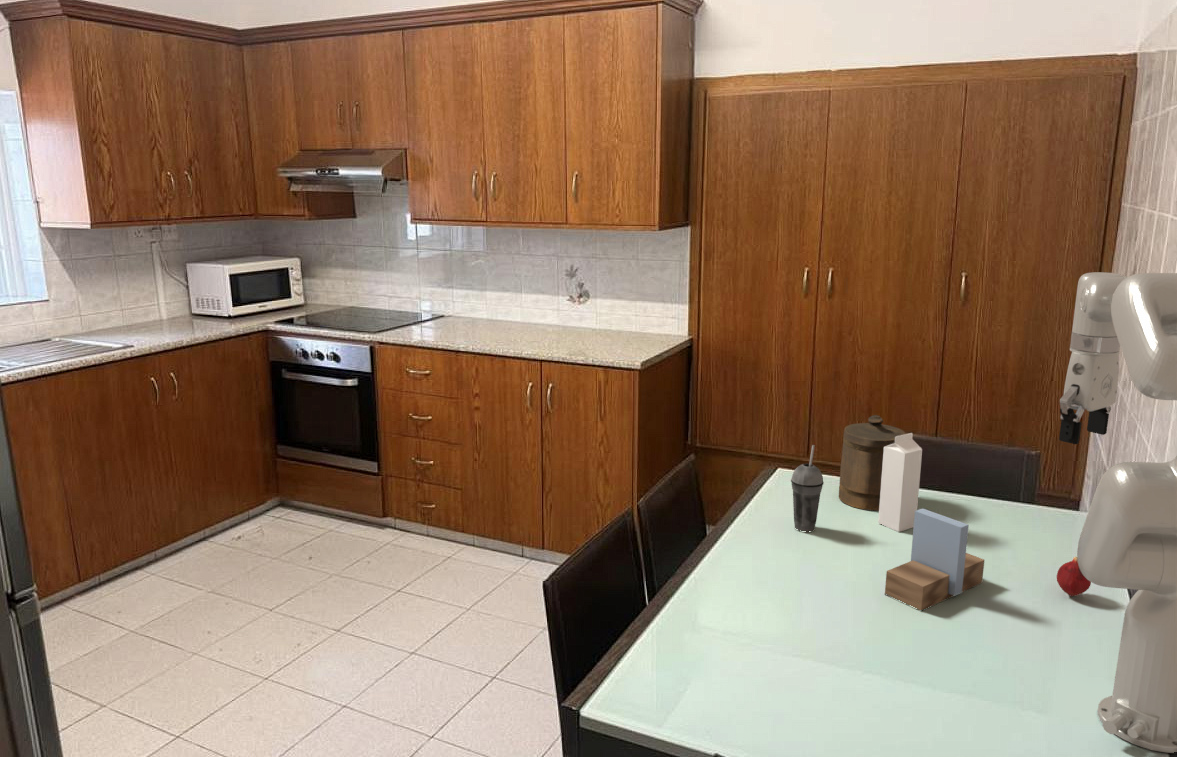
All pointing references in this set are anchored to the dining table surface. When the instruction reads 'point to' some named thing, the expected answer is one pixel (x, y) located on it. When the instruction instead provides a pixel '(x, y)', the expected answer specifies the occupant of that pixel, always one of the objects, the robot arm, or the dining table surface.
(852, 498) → the wooden container
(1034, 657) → the dining table surface
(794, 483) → the beverage cup
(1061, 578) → the red pomegranate
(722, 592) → the dining table surface
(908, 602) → the slotted base
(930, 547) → the grey block
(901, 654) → the dining table surface
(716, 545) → the dining table surface
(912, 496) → the milk
